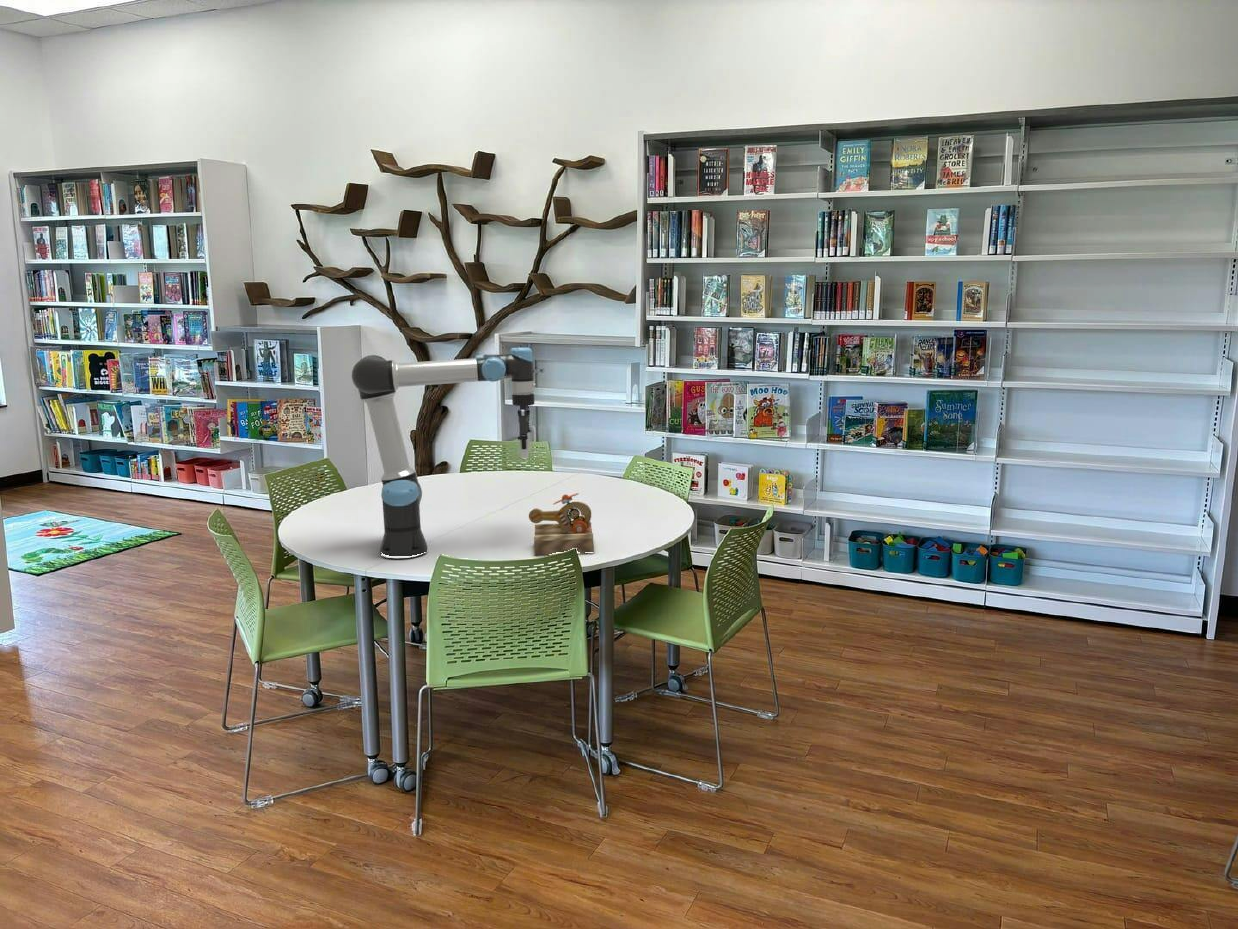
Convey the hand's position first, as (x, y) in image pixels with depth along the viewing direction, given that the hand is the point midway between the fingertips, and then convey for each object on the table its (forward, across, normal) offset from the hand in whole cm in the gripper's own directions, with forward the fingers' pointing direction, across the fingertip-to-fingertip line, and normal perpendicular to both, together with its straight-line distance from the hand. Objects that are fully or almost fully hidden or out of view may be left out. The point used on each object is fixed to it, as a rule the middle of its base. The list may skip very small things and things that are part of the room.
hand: (525, 454), depth 323 cm
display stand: (+28, -18, -12) cm, 36 cm away
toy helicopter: (+24, -18, -12) cm, 32 cm away
